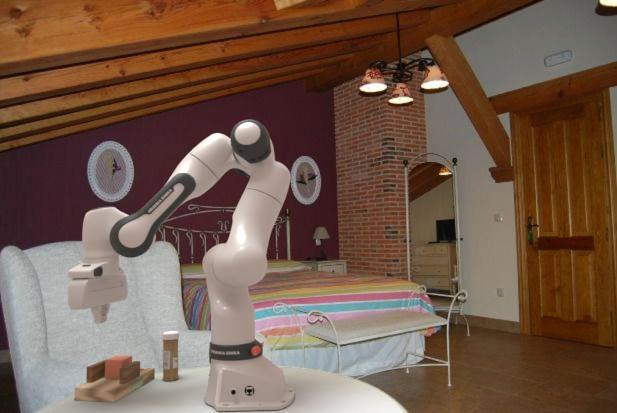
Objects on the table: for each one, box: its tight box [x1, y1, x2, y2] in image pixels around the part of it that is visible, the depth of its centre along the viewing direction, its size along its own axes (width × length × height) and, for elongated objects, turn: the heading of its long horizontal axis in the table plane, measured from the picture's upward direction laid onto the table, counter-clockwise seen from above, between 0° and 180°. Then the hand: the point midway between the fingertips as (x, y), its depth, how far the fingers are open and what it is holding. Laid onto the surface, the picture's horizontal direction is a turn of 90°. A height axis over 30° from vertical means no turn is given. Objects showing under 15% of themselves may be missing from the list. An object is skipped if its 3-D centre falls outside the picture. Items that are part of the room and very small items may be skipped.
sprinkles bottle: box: [162, 330, 180, 382], centre depth 133 cm, size 5×5×13 cm
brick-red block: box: [104, 355, 133, 379], centre depth 126 cm, size 5×5×5 cm
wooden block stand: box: [74, 359, 156, 403], centre depth 125 cm, size 11×20×7 cm, turn 170°
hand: (100, 322), depth 118 cm, fingers closed
